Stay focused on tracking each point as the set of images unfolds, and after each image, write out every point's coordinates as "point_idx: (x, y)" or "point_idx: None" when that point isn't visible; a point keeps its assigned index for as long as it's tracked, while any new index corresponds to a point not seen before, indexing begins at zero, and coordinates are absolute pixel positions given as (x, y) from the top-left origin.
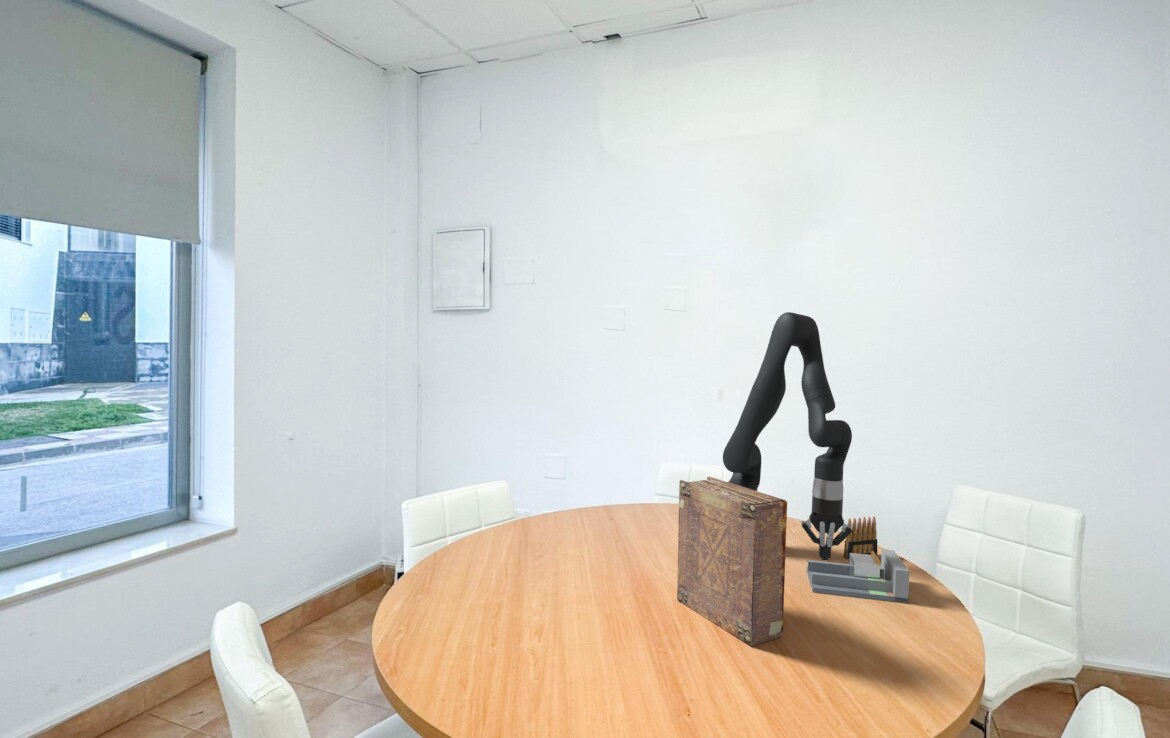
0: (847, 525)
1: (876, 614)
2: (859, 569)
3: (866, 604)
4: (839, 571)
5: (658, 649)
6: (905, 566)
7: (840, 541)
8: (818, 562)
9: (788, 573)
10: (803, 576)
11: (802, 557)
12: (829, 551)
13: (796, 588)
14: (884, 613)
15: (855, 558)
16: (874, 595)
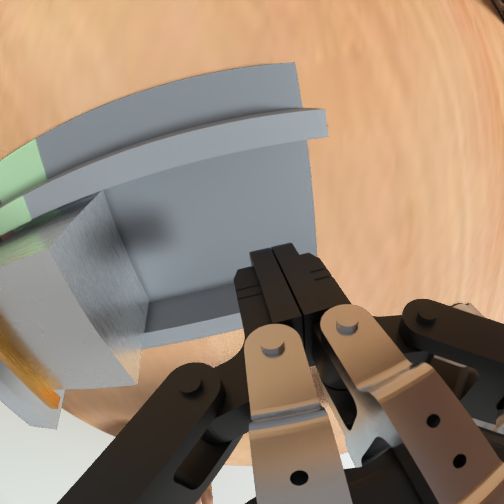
0: (211, 495)
1: (35, 10)
2: (45, 233)
3: (56, 67)
4: (187, 302)
5: None
6: None
7: (150, 417)
8: None
9: (375, 232)
10: (327, 231)
11: (314, 371)
12: (253, 306)
13: (353, 85)
14: (11, 39)
15: (74, 323)
16: (25, 144)
